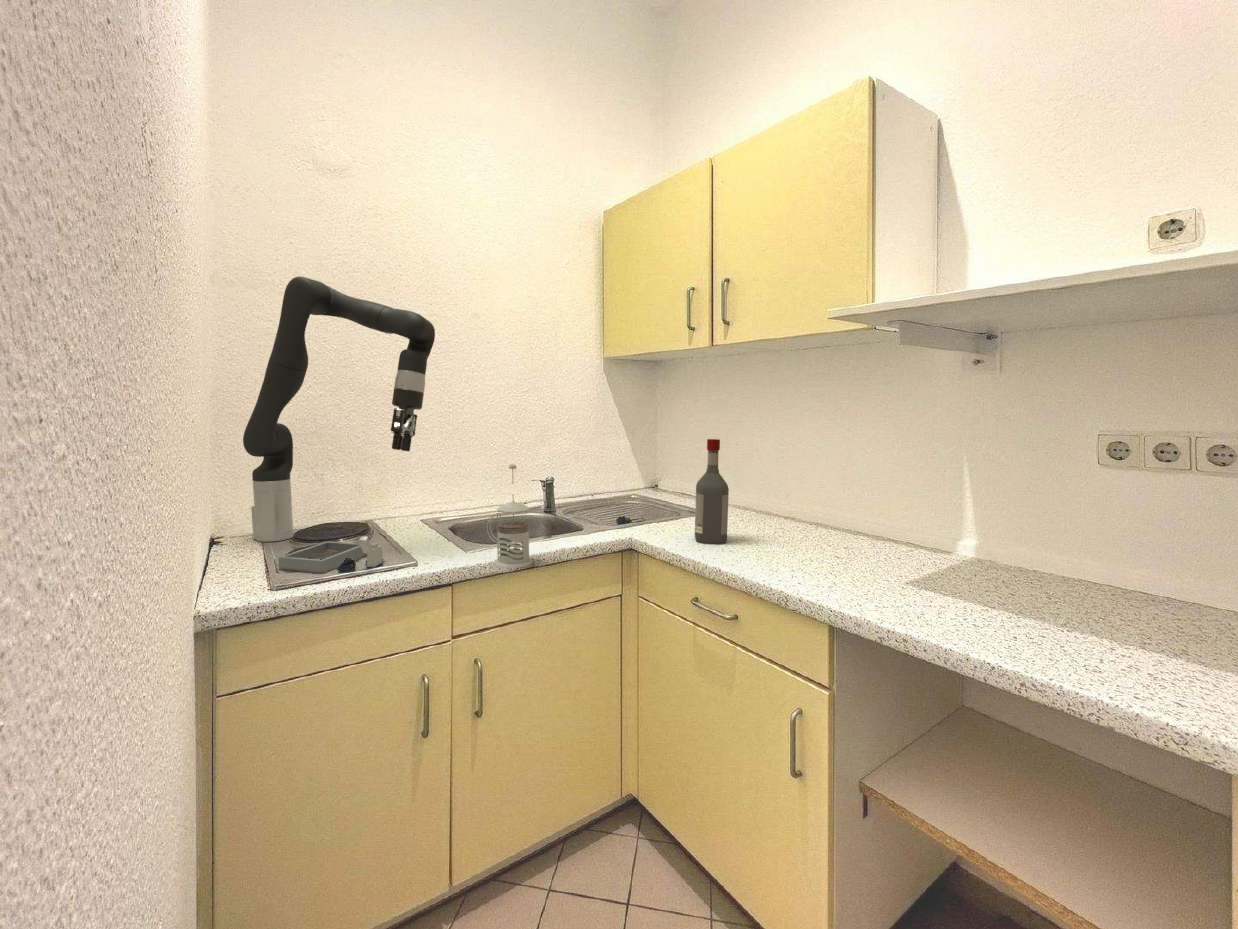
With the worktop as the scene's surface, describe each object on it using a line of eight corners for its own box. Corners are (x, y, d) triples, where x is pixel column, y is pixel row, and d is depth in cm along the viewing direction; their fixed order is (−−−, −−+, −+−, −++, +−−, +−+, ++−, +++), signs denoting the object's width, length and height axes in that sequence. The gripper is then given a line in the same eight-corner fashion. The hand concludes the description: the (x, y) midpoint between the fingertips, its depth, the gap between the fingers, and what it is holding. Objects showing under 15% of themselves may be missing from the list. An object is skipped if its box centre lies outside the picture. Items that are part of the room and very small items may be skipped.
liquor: (724, 537, 171) (728, 438, 168) (727, 544, 162) (731, 440, 159) (694, 536, 172) (697, 438, 168) (695, 543, 163) (698, 440, 159)
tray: (279, 569, 133) (278, 557, 133) (327, 552, 149) (327, 541, 148) (322, 573, 131) (322, 561, 130) (367, 555, 146) (367, 544, 146)
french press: (525, 569, 136) (524, 466, 133) (480, 566, 138) (478, 465, 136) (538, 558, 146) (538, 462, 143) (496, 555, 148) (495, 460, 145)
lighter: (376, 562, 141) (375, 530, 140) (382, 562, 140) (381, 531, 140) (359, 570, 134) (358, 537, 133) (366, 570, 133) (364, 537, 133)
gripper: (401, 391, 156) (394, 449, 155) (386, 383, 142) (377, 447, 141) (429, 395, 157) (421, 453, 156) (417, 387, 143) (408, 451, 142)
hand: (400, 450), depth 149 cm, fingers open, 8 cm apart
